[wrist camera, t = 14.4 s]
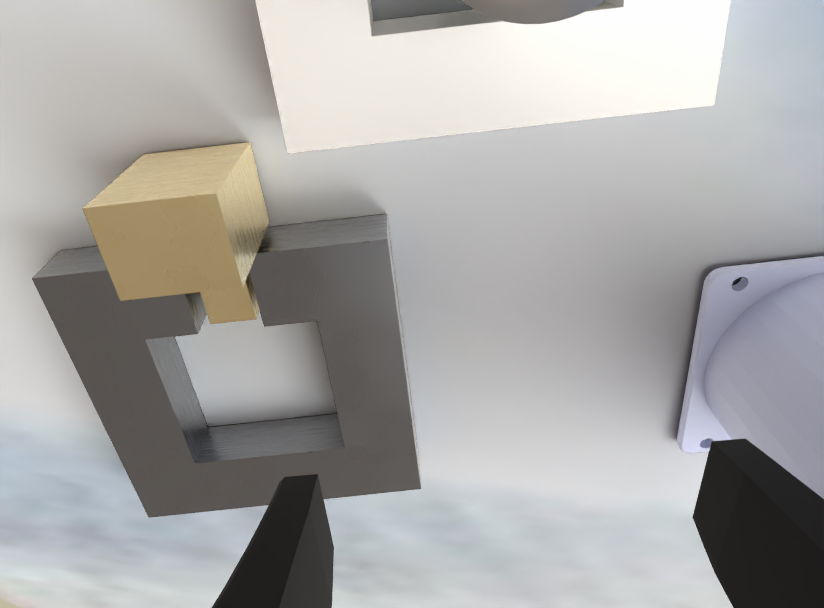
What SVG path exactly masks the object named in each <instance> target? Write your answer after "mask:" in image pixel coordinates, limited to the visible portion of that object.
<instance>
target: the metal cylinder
mask: <svg viewBox="0 0 824 608" xmlns="http://www.w3.org/2000/svg"><path fill="white" fill-rule="evenodd" d="M461 1H462V2H464V3H465V4H467V5H468V6H470V7H471V8H473V9H474V10H476V11H478V12H480V13H483V14H485V15H487V16H489V17H491V18H495V19H498V20H502V21H505V22H510V23H518V24H545V23H551V22H557V21H561V20H564V19H567V18H571V17H574V16H577V15H579V14H581V13H583V12H585V11H588V10H590V9H592V8H593V7H595V6H597V5H598V4H600V3H602V2H603V1H605V0H461Z"/></svg>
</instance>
